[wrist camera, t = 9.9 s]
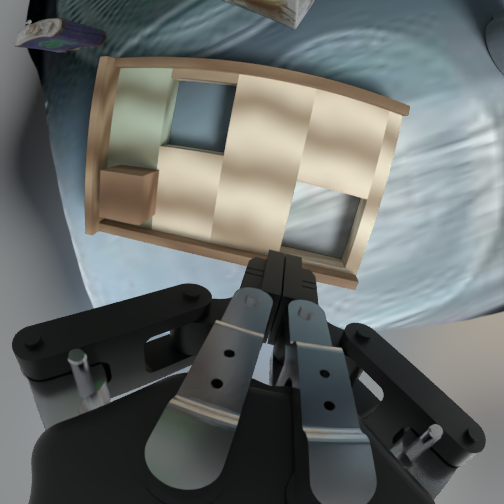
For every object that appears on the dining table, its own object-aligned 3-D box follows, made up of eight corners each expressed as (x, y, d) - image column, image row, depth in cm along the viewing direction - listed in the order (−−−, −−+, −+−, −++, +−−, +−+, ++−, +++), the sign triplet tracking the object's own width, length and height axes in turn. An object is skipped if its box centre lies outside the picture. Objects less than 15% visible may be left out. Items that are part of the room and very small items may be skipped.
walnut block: (120, 164, 30) (100, 170, 26) (159, 170, 29) (142, 176, 26) (117, 206, 32) (99, 216, 28) (155, 214, 32) (139, 225, 28)
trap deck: (125, 63, 27) (100, 56, 22) (396, 108, 26) (416, 105, 21) (109, 219, 35) (85, 233, 30) (349, 273, 34) (357, 297, 29)
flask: (56, 54, 26) (1, 47, 17) (60, 35, 25) (7, 25, 15) (104, 47, 26) (48, 32, 16) (110, 27, 25) (56, 6, 15)
